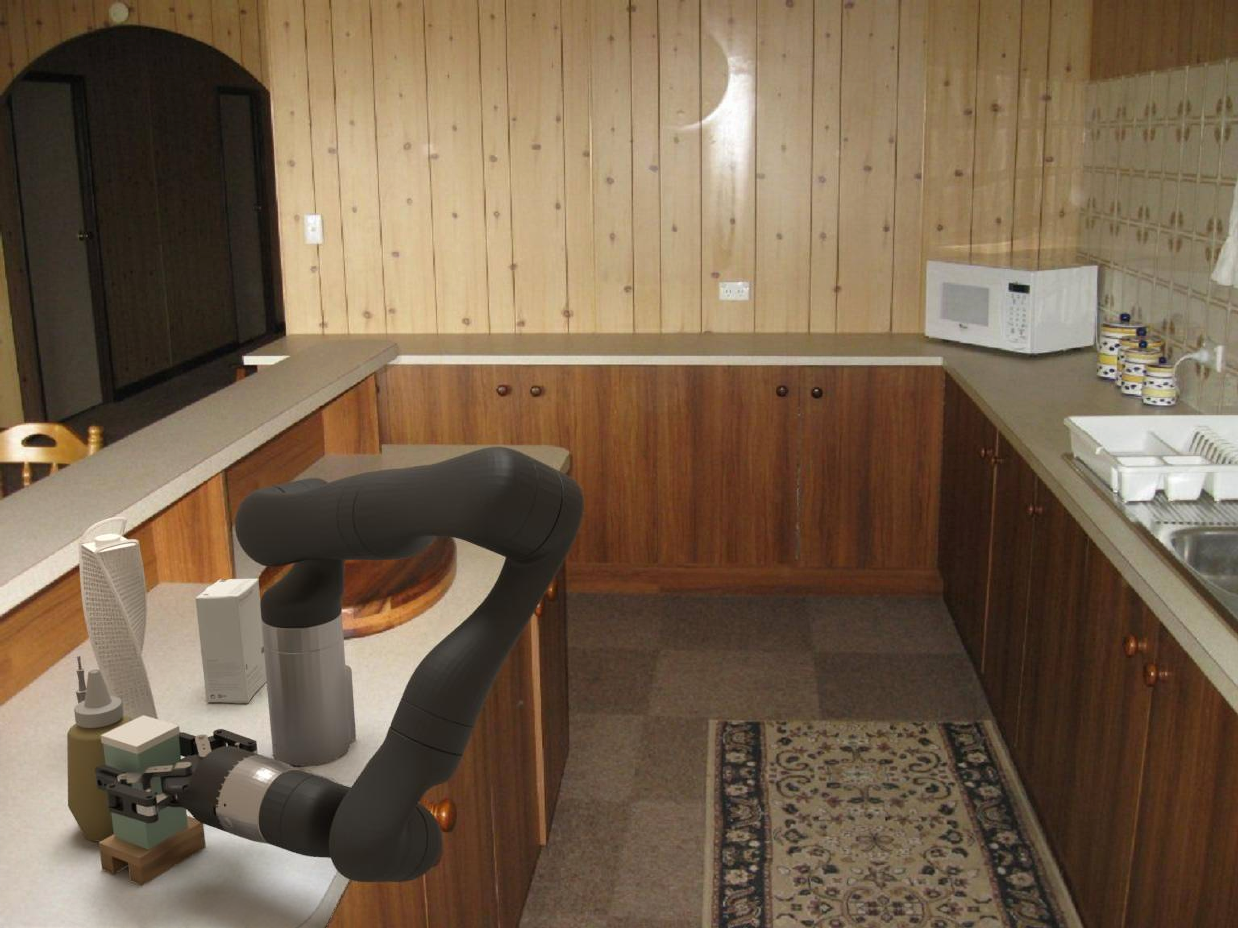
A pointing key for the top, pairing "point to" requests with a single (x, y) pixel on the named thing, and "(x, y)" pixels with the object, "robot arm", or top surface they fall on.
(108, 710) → the squeeze bottle
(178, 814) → the tin
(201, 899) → the top surface
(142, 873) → the brown wooden bridge block
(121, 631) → the skyscraper
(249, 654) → the skincare box
